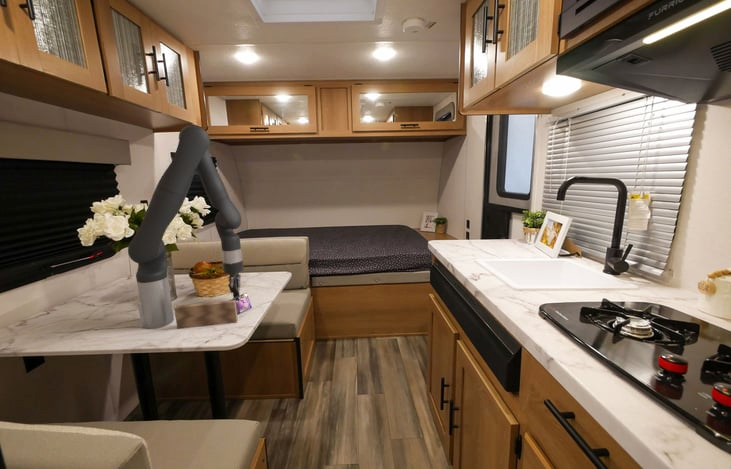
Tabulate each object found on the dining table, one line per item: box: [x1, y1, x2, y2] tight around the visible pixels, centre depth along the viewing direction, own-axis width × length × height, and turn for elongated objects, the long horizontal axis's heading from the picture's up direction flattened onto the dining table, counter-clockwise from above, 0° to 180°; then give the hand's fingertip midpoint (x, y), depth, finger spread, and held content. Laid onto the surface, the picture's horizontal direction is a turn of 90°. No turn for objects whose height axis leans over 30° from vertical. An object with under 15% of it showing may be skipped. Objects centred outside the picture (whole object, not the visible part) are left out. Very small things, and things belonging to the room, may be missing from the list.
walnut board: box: [173, 300, 238, 330], centre depth 113 cm, size 20×2×8 cm, turn 102°
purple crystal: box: [227, 292, 253, 316], centre depth 124 cm, size 7×5×9 cm
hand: (236, 300), depth 129 cm, fingers closed
